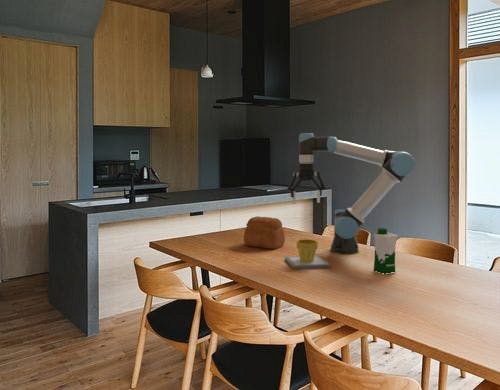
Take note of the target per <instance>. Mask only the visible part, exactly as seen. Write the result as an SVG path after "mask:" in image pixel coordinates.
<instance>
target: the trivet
mask: <svg viewBox="0 0 500 390" xmlns="http://www.w3.org/2000/svg"><path fill="white" fill-rule="evenodd" d="M284 260H285V262H286V263H288V265H289V266H290V267H291V268H292V269H293V270H307V269H308V270H310V269H312V270H313V269H330V268H331V265H330V263H328V262H327V261H326V260H325V259H324V258H322V257H321V256H320V255H315V256H314V260H313V261H312V262H302V261H300V257H299V256H298V255H297V256H295V255H293V256H284Z"/></svg>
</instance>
